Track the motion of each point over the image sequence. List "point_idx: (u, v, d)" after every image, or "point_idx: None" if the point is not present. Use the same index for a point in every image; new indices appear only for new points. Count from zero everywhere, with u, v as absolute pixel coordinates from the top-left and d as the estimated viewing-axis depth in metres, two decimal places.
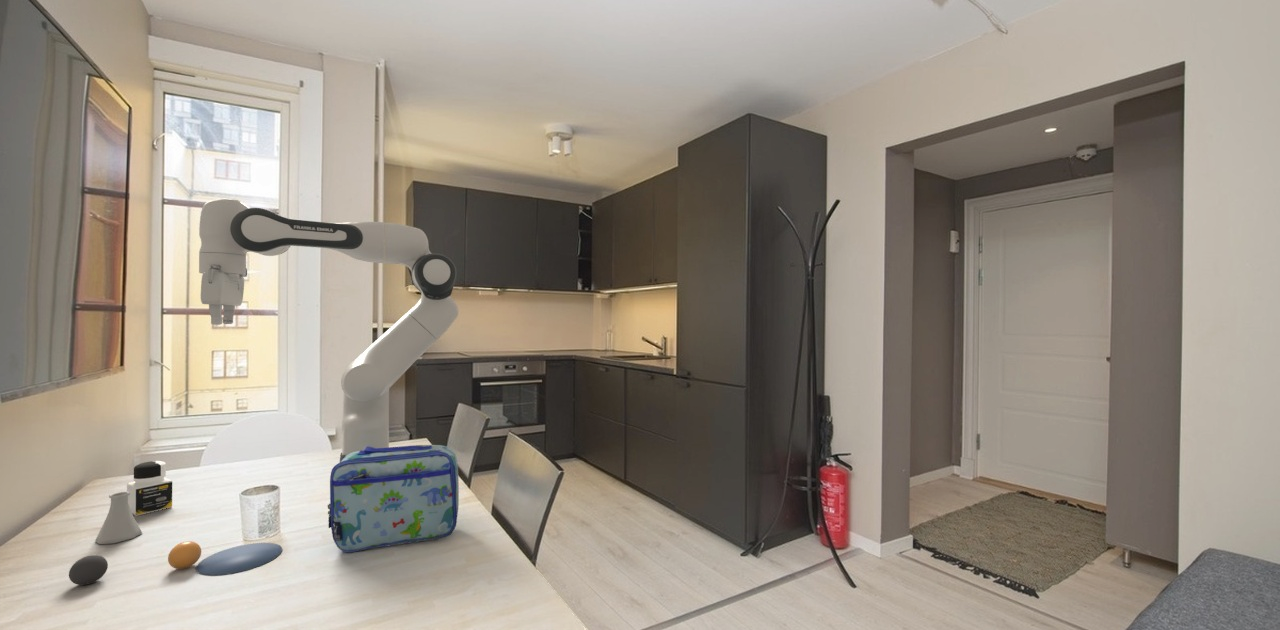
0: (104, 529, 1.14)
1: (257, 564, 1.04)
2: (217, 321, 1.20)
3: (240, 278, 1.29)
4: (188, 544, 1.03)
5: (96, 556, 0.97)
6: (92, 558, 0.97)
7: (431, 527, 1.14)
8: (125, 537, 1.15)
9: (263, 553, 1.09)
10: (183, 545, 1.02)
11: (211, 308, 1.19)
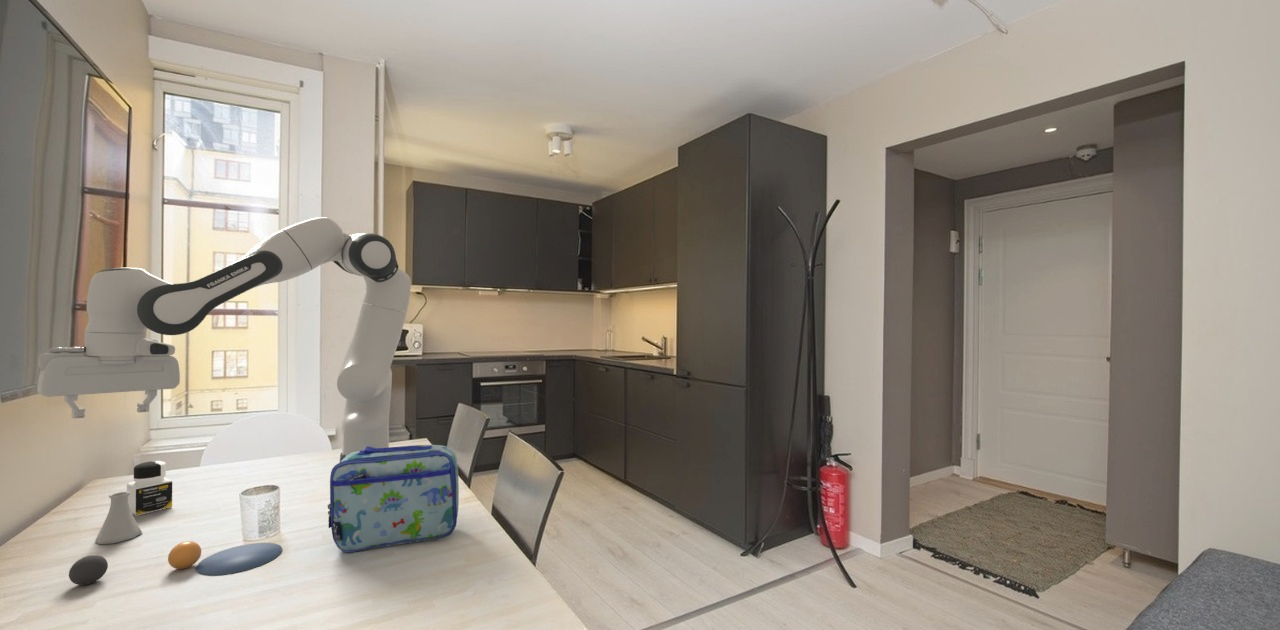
0: (104, 529, 1.14)
1: (257, 564, 1.04)
2: (73, 414, 1.00)
3: (142, 359, 1.07)
4: (188, 544, 1.03)
5: (96, 556, 0.97)
6: (92, 558, 0.97)
7: (431, 527, 1.14)
8: (125, 537, 1.15)
9: (263, 553, 1.09)
10: (183, 545, 1.02)
11: (65, 399, 1.00)
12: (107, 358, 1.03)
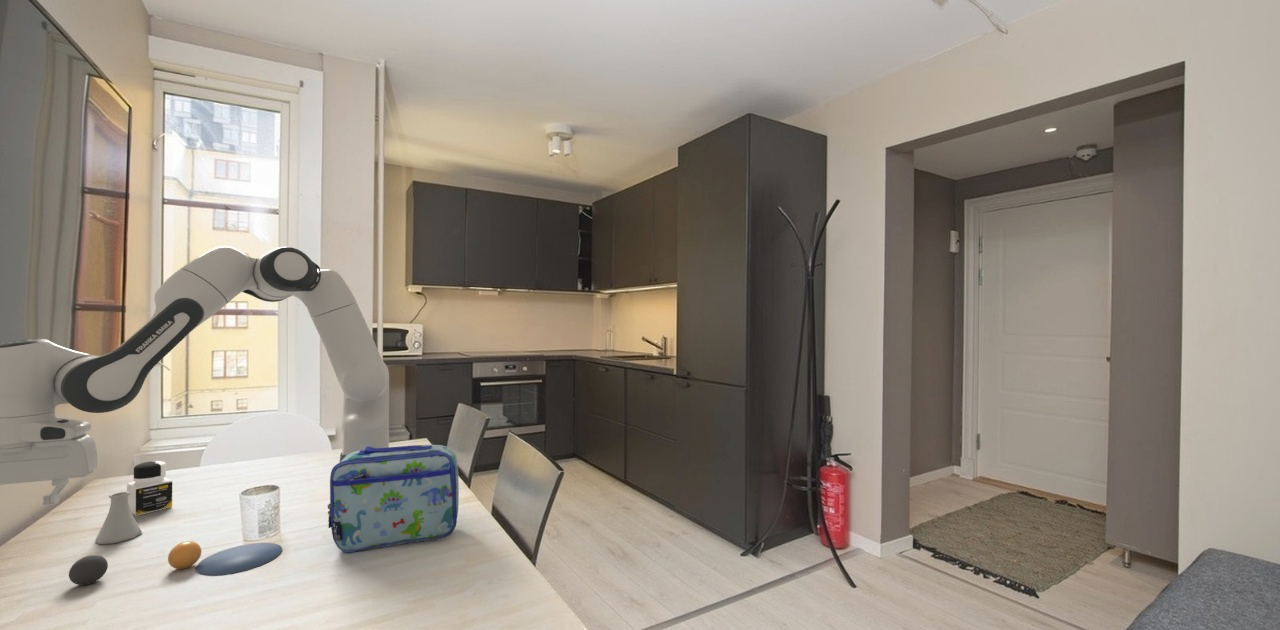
0: (104, 529, 1.14)
1: (257, 564, 1.04)
2: None
3: (35, 445, 0.92)
4: (188, 544, 1.03)
5: (96, 556, 0.97)
6: (92, 558, 0.97)
7: (431, 527, 1.14)
8: (125, 537, 1.15)
9: (263, 553, 1.09)
10: (183, 545, 1.02)
11: None
12: None
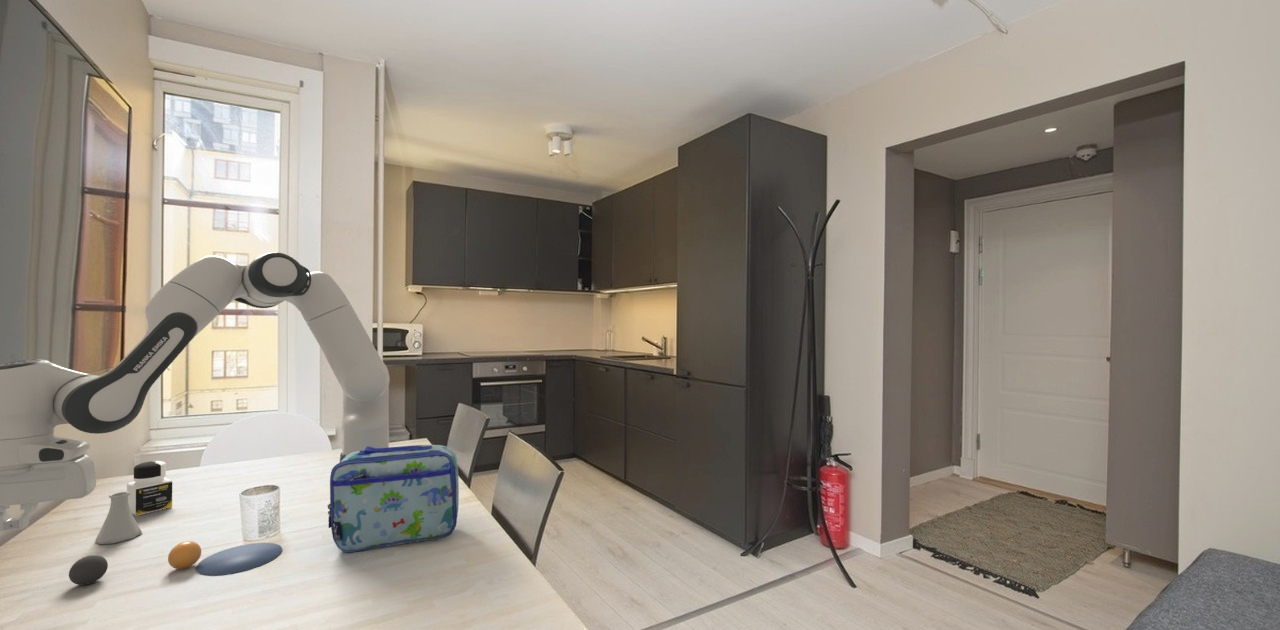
0: (104, 529, 1.14)
1: (257, 564, 1.04)
2: None
3: (34, 466, 0.92)
4: (188, 544, 1.03)
5: (96, 556, 0.97)
6: (92, 558, 0.97)
7: (431, 527, 1.14)
8: (125, 537, 1.15)
9: (263, 553, 1.09)
10: (183, 545, 1.02)
11: None
12: None
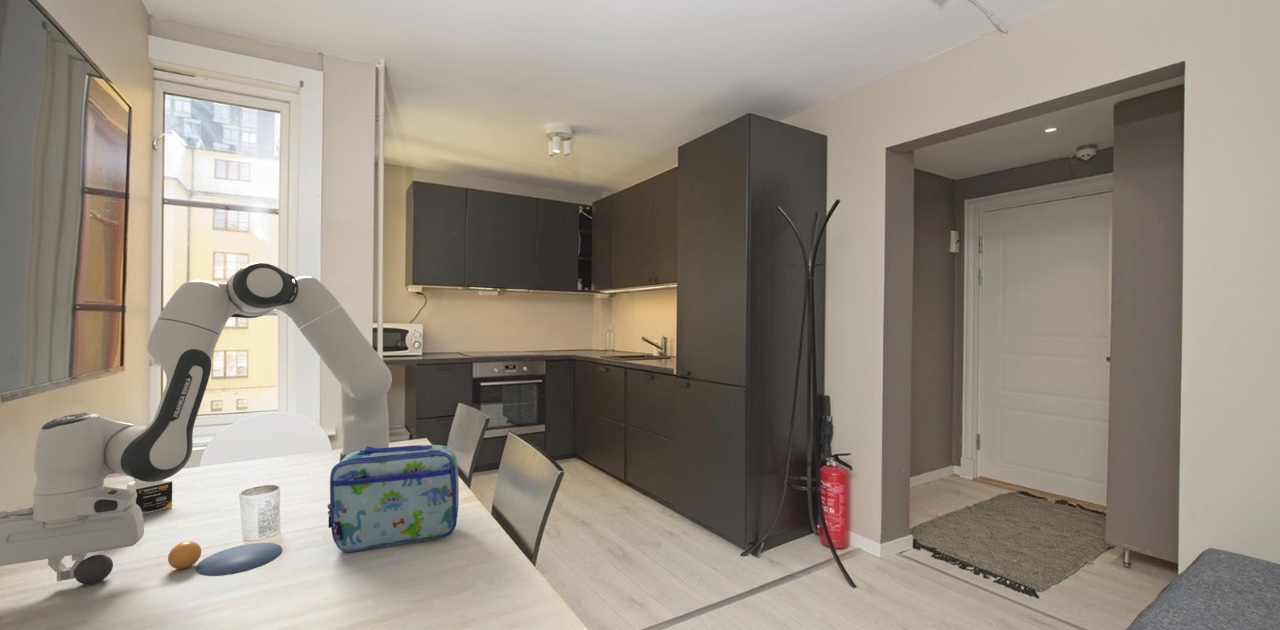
0: None
1: (257, 564, 1.04)
2: None
3: (89, 518, 0.95)
4: (188, 544, 1.03)
5: (106, 557, 0.98)
6: (102, 558, 0.97)
7: (431, 527, 1.14)
8: None
9: (263, 553, 1.09)
10: (183, 545, 1.02)
11: None
12: (48, 521, 0.93)
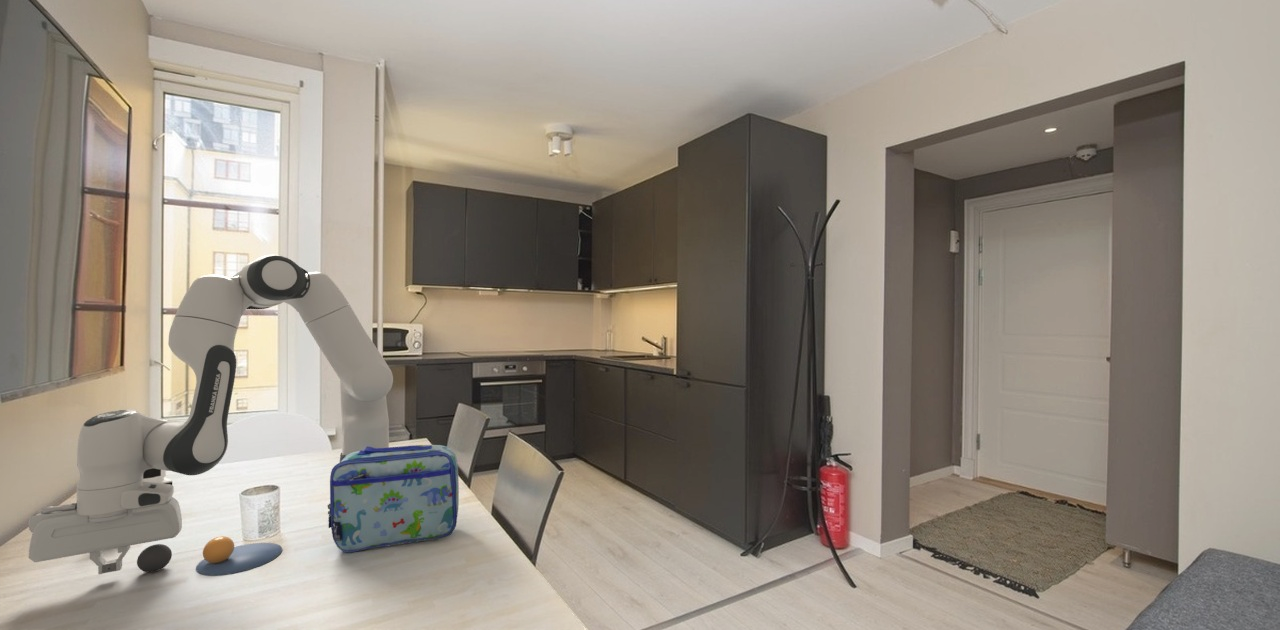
0: None
1: (257, 564, 1.04)
2: None
3: (132, 511, 0.98)
4: (227, 558, 1.05)
5: None
6: (151, 571, 1.01)
7: (431, 527, 1.14)
8: None
9: (263, 553, 1.09)
10: (229, 555, 1.05)
11: None
12: (93, 516, 0.95)
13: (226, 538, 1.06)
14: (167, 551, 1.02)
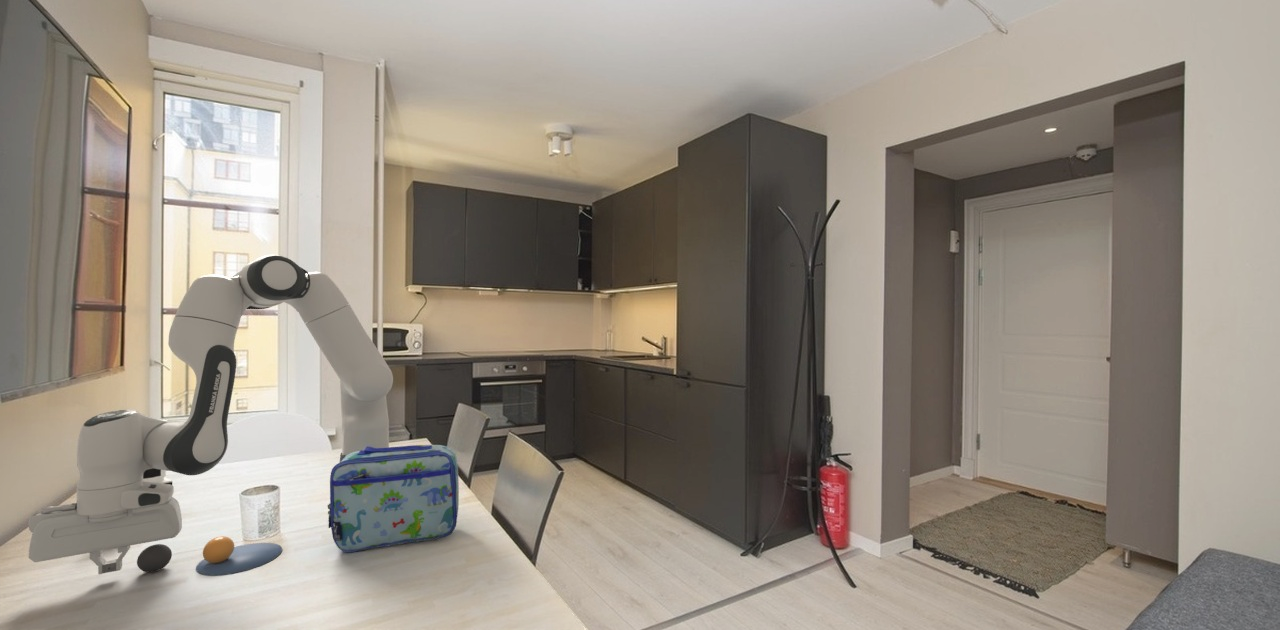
0: None
1: (257, 564, 1.04)
2: None
3: (132, 511, 0.98)
4: (227, 558, 1.05)
5: None
6: (151, 571, 1.01)
7: (431, 527, 1.14)
8: None
9: (263, 553, 1.09)
10: (229, 555, 1.05)
11: None
12: (93, 516, 0.95)
13: (226, 538, 1.06)
14: (167, 551, 1.02)
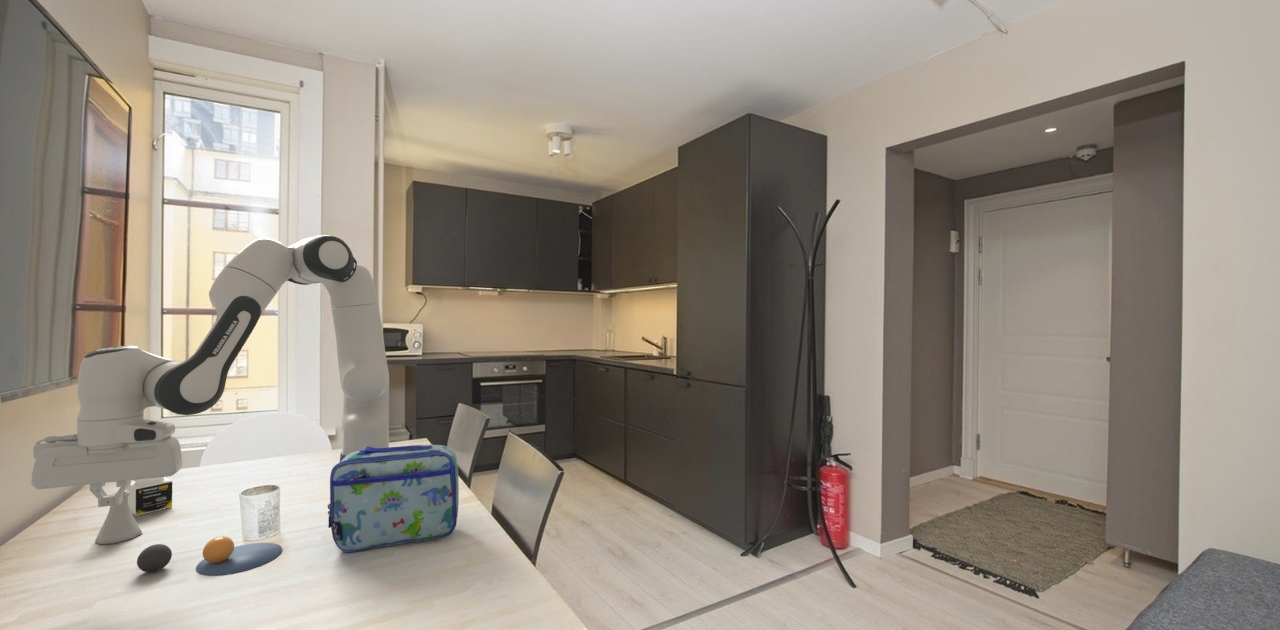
0: (104, 529, 1.14)
1: (257, 564, 1.04)
2: None
3: (129, 446, 0.97)
4: (227, 558, 1.05)
5: None
6: (151, 571, 1.01)
7: (431, 527, 1.14)
8: (125, 537, 1.15)
9: (263, 553, 1.09)
10: (229, 555, 1.05)
11: None
12: (91, 447, 0.95)
13: (226, 538, 1.06)
14: (167, 551, 1.02)
